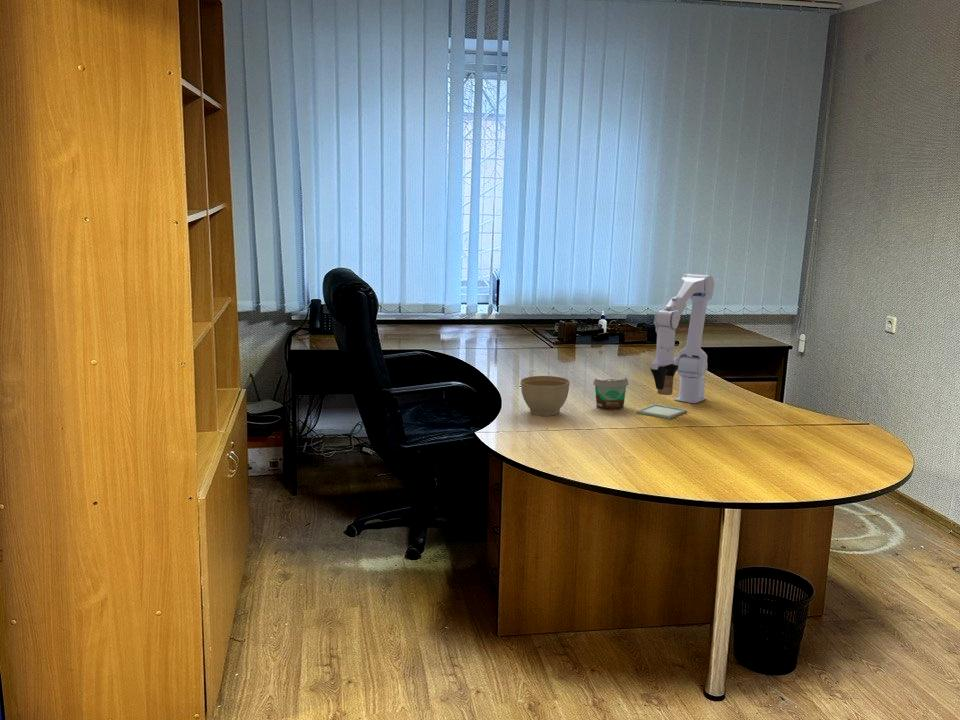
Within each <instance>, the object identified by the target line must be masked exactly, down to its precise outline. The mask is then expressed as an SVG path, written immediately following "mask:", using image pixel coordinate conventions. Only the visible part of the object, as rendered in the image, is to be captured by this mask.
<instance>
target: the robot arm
mask: <svg viewBox="0 0 960 720" xmlns="http://www.w3.org/2000/svg"><path fill="white" fill-rule="evenodd" d="M680 279H681V280H680V288H679V291H678V293H677V295H676V296H672V297H671V298H670V299H669V301H668V302H667V304H665V306H664V308H663V309H660V310H658V311H657V312H656V313H655V316H654V326H655V333H656V352H655V359H654V361H653V362H651V365H650V367H649V369H650V372H651V374H652V376H653V379H654V383H655V388H656V390H658V389H661V390H662V389H663V387H664V381H665V377H666V375H667V376H672V377H673V378H674V376H675V374H676V372H677V373H678V376H679V389H678V390H679V393H678V396H677V397H675V398H674V399H673V400H674V401H677V402H678V401H679V402H684V403H689V404H697V403H700V402H702V401H704V400H707V397H705V391H706V390H705V389H706V380H705V378H704V375H705V374H706V372H707V371H708V354H707V353H706V351H704V350H703V349H702V348H701V347H702V340H703V333H704V328H705V327H704V326H705V319H706V314H707V313H706V312H707V306H708V301H710V300H712V299H713V294H714V287H715V281H714V277H713V276H712V275H711V274H696V273H695V274H694V273H684V274H683V275H682V277H681V278H680ZM689 299H690V300H691V302H692V303H691V311H690V316H689V317H690V318H689V325H688V331H687V338H686V345H685V346H684V347H683V348H682V349H681V350H679V351H678V353H677V356H675V343H676V342H675V341H676V340H675V339H676V329H677V328H678V326H679V323H680V320H681V316H682V314H683V312H684V311H685V309H687V301H689Z"/></svg>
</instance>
